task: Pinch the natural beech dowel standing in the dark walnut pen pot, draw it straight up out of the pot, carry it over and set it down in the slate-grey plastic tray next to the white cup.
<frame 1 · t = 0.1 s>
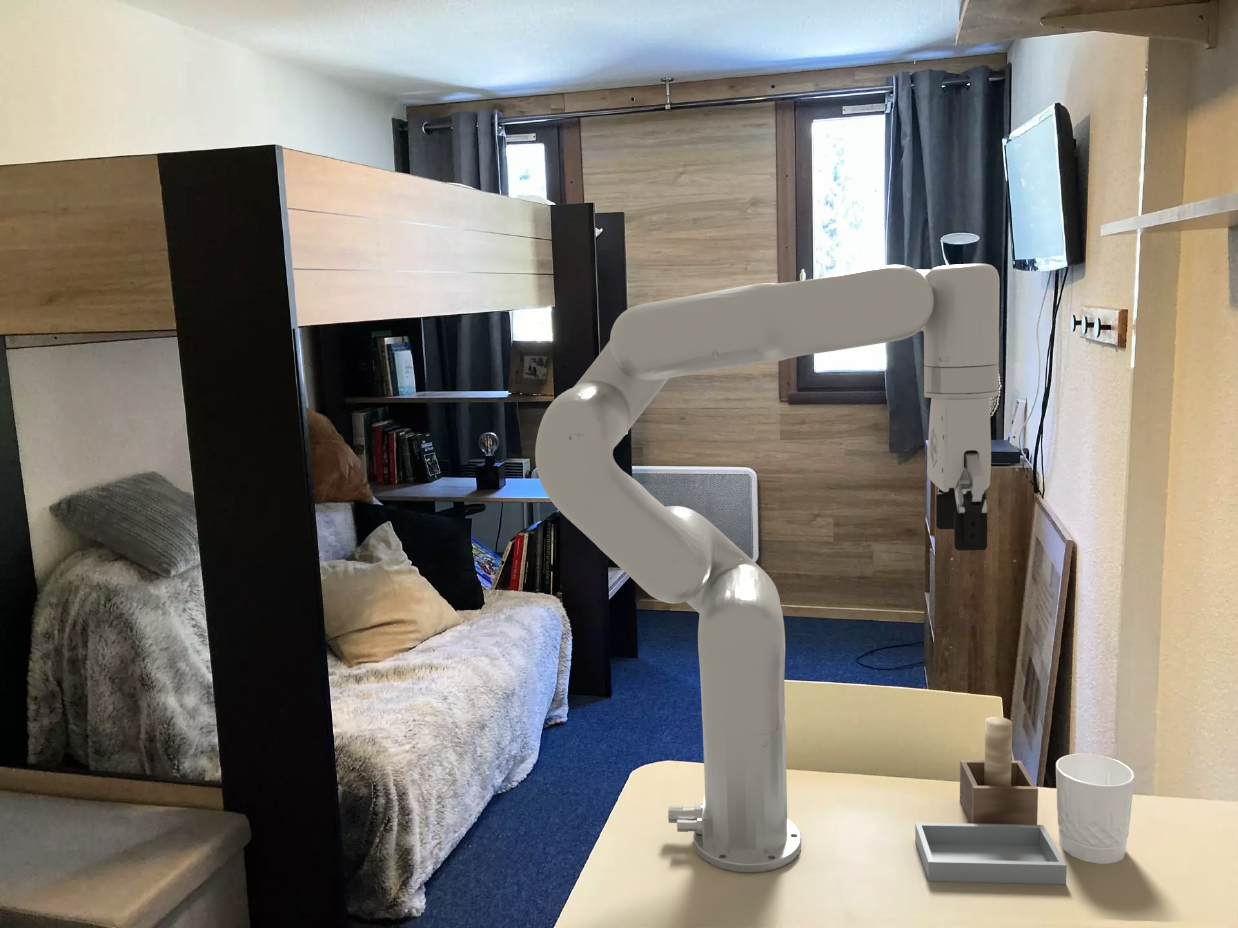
hand: (960, 538, 108), 37 cm above the table, tool pointing down, fingers open, 9 cm apart
dowel: (997, 815, 119), point 1 cm above the table, touching pen pot
tray: (987, 866, 110), on the table
pen pot: (997, 820, 119), on the table
white cup: (1091, 853, 112), on the table
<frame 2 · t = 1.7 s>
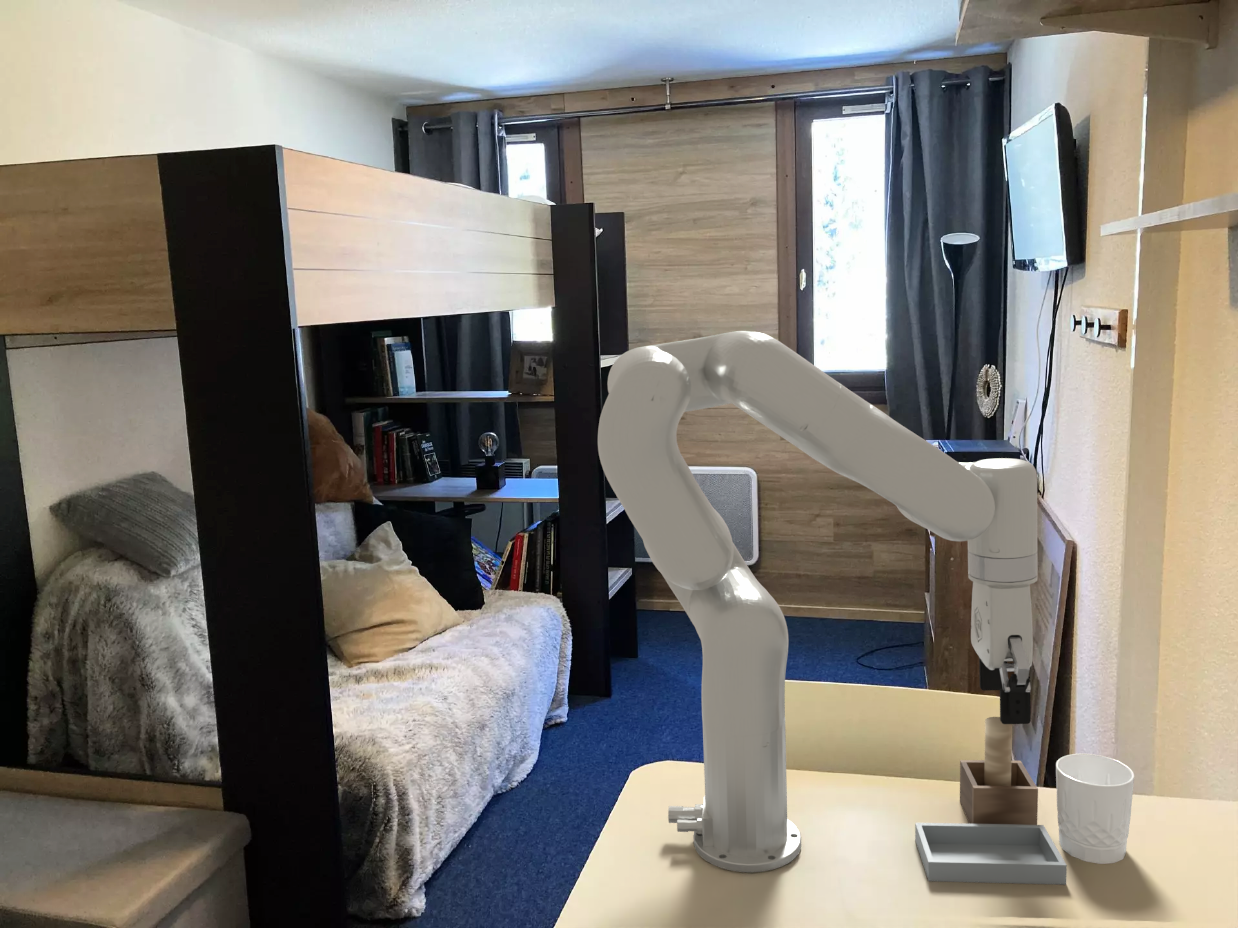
hand: (1004, 705, 117), 15 cm above the table, tool pointing down, fingers open, 9 cm apart
nothing on the table moved.
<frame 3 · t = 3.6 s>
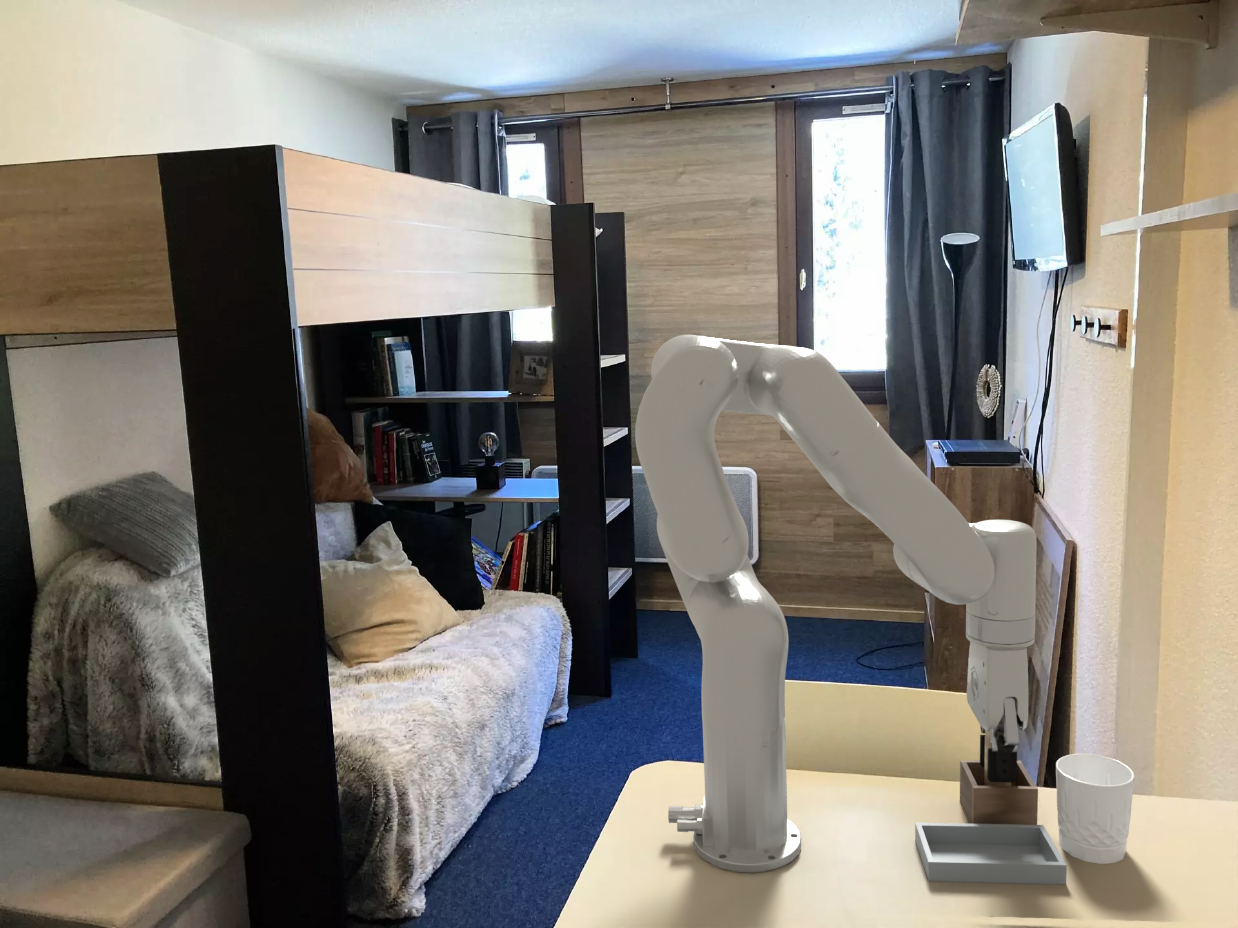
hand: (997, 772, 118), 6 cm above the table, tool pointing down, fingers closed on dowel, 3 cm apart
dowel: (997, 815, 119), point 1 cm above the table, touching gripper, pen pot
everything else where it was.
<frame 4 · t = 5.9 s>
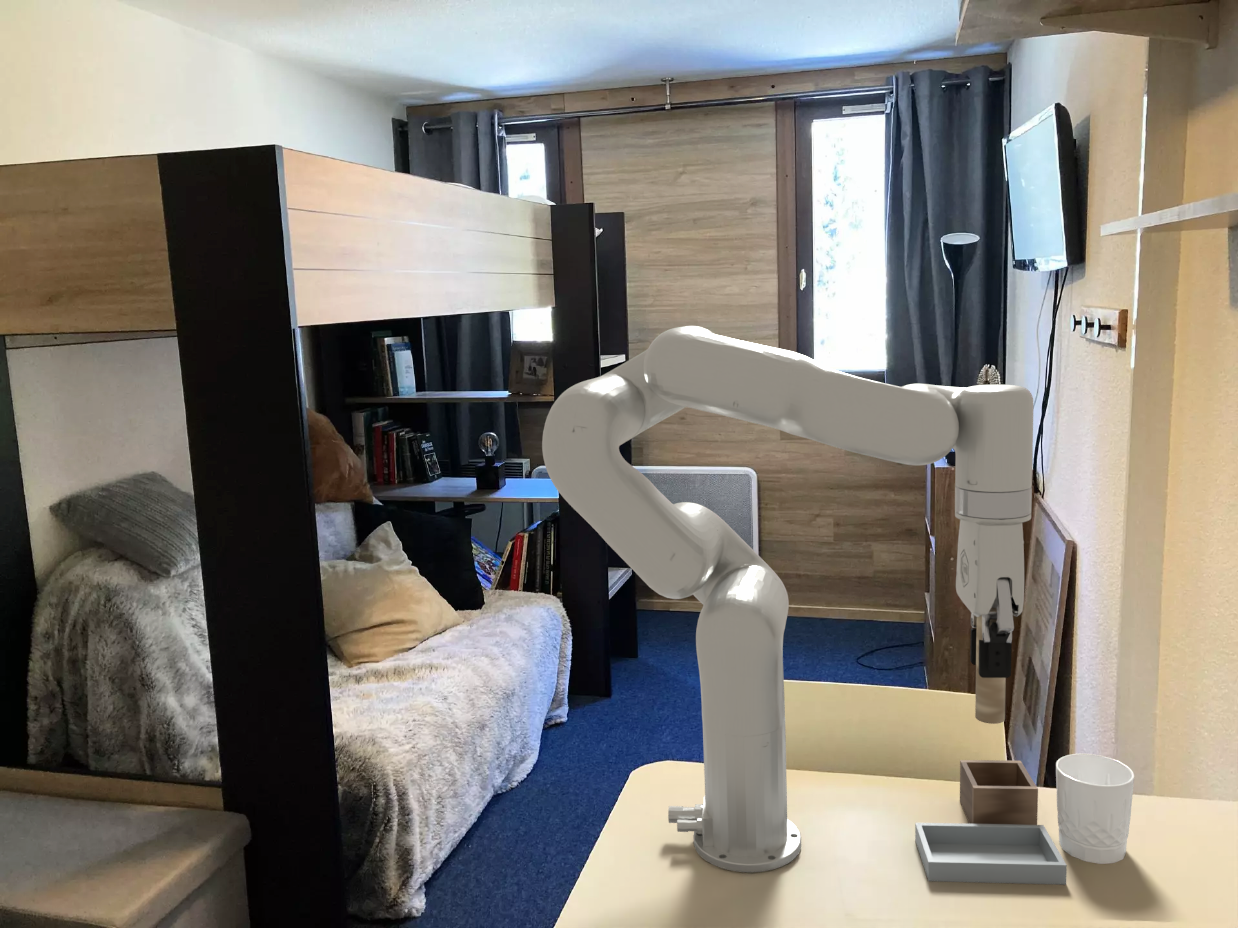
hand: (990, 668, 107), 23 cm above the table, tool pointing down, fingers closed on dowel, 3 cm apart
dowel: (989, 717, 108), point 17 cm above the table, touching gripper
everything else where it was.
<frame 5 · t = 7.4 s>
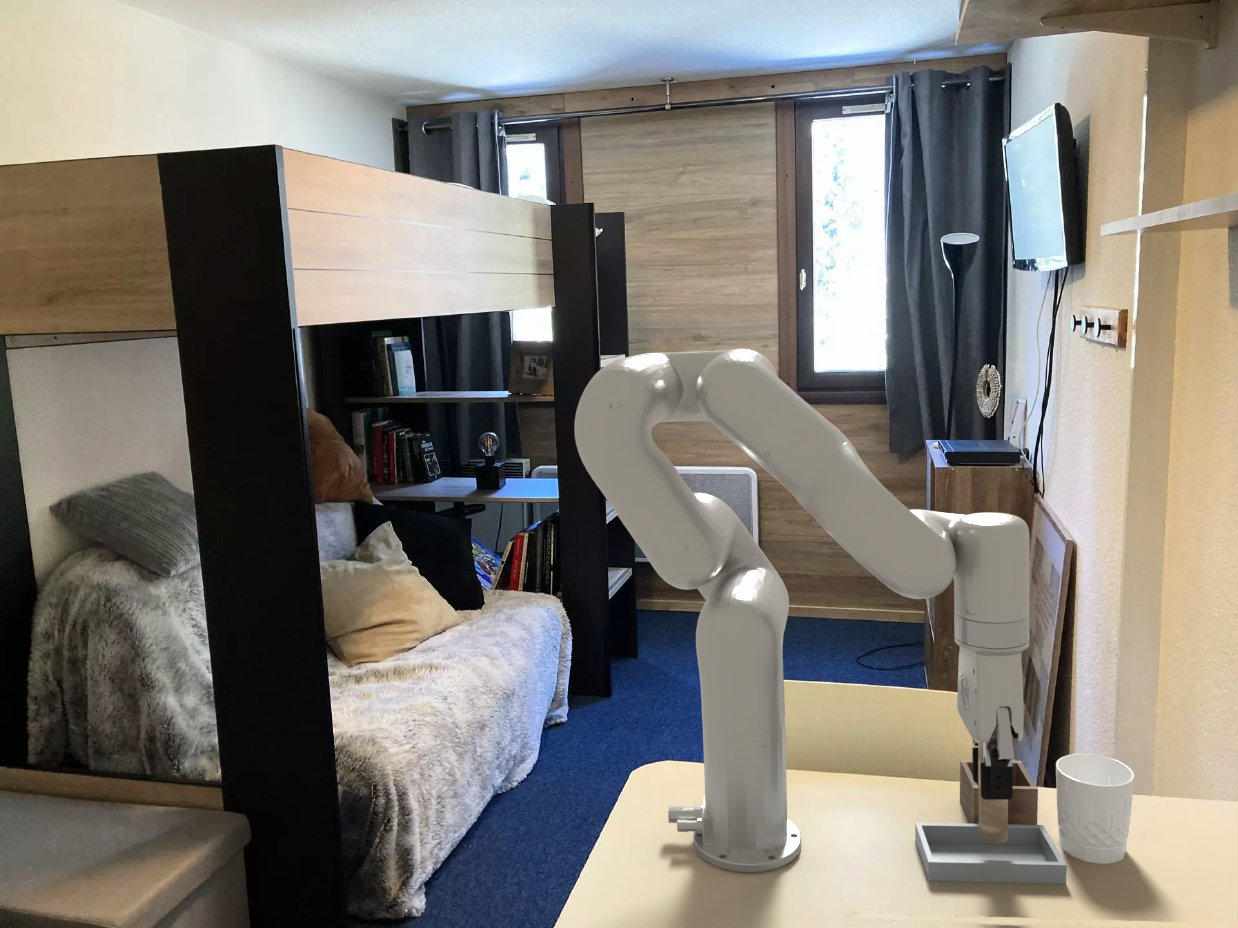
hand: (992, 788, 109), 9 cm above the table, tool pointing down, fingers closed on dowel, 3 cm apart
dowel: (993, 835, 109), point 4 cm above the table, touching gripper
everything else where it was.
when the fingers open (8 cm above the table, at t = 8.3 s): dowel drops 1 cm, resting on tray.
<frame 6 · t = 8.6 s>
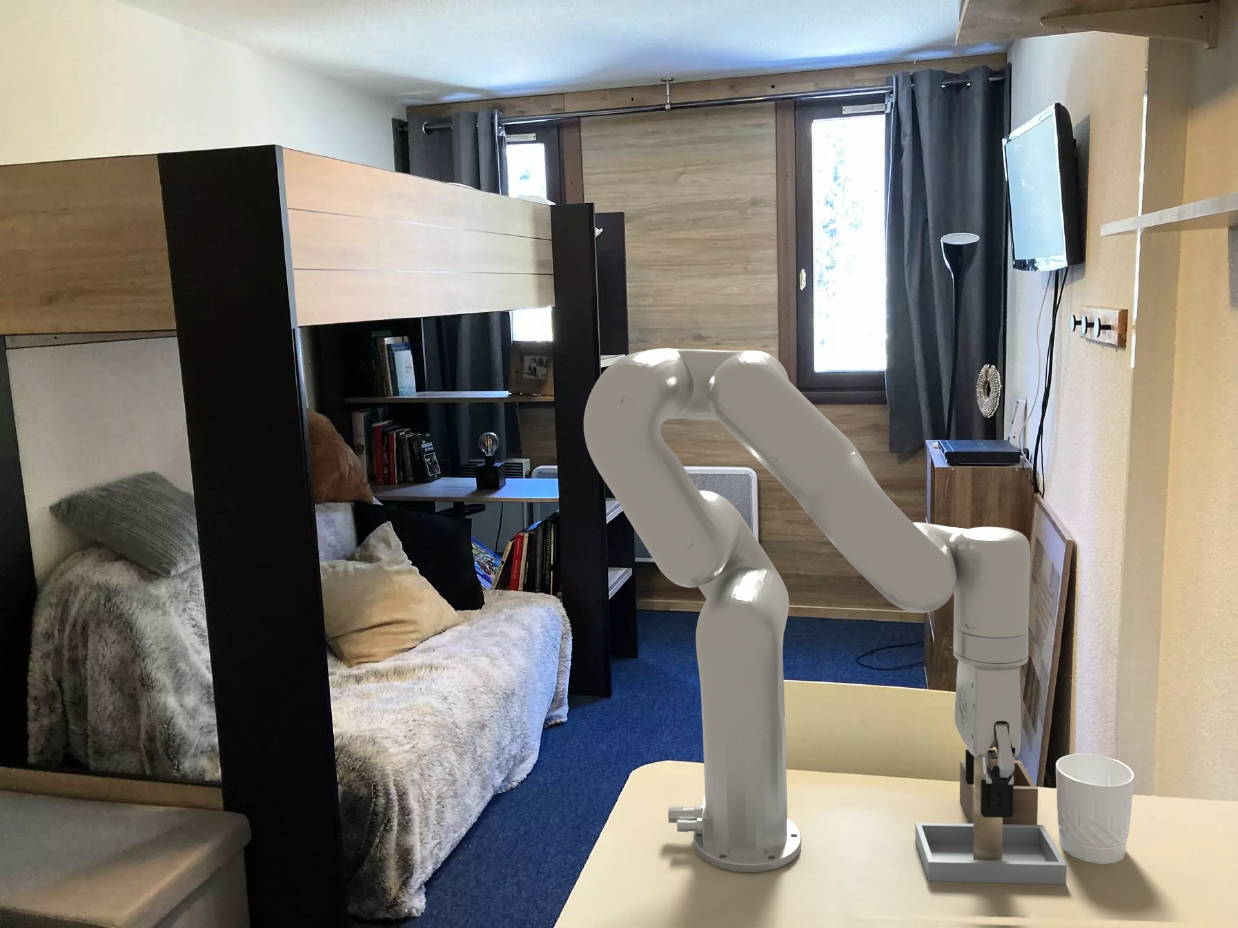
hand: (988, 797, 109), 8 cm above the table, tool pointing down, fingers open, 6 cm apart
dowel: (987, 860, 110), point 1 cm above the table, touching tray
everything else where it was.
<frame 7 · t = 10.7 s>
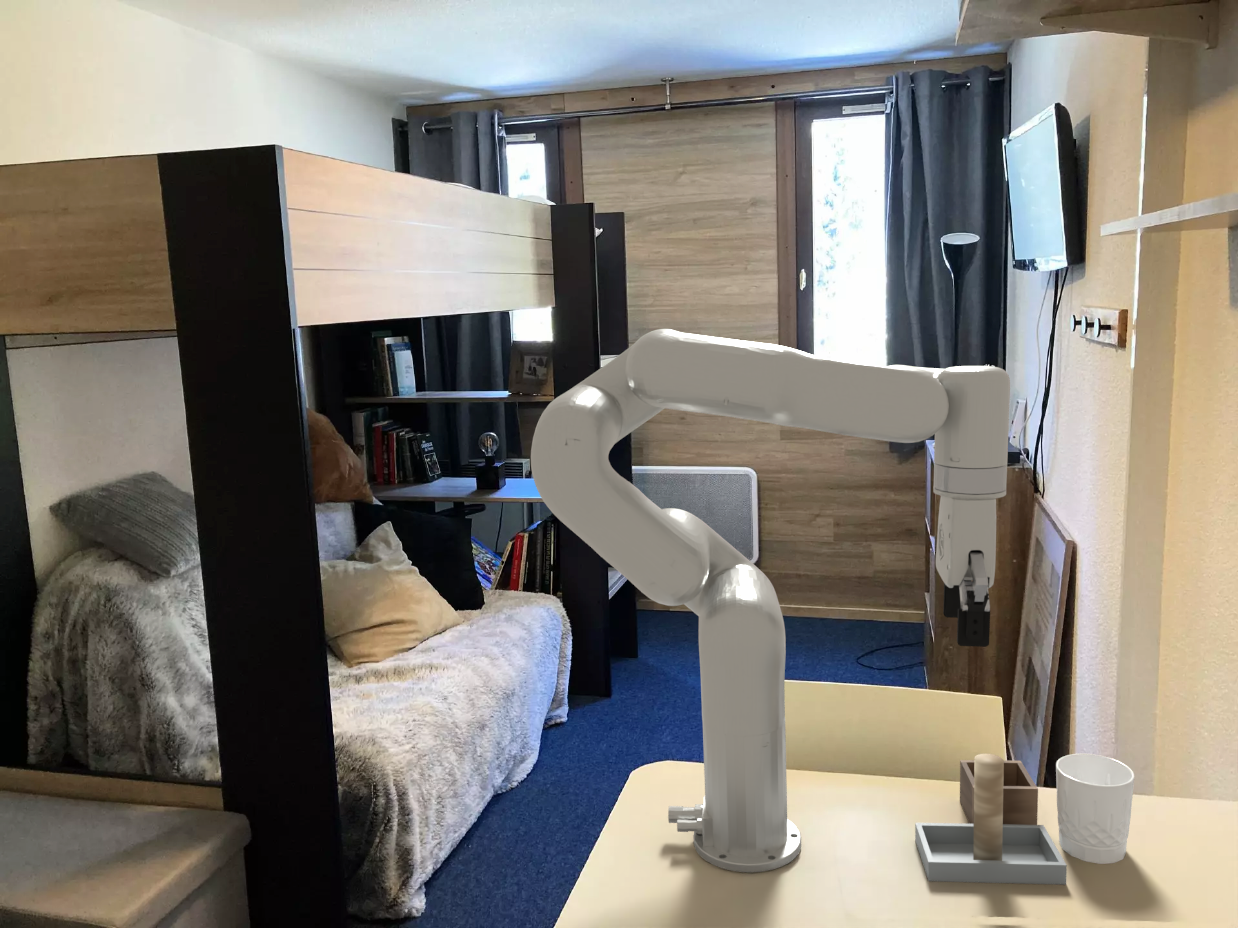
hand: (965, 630, 111), 26 cm above the table, tool pointing down, fingers open, 9 cm apart
nothing on the table moved.
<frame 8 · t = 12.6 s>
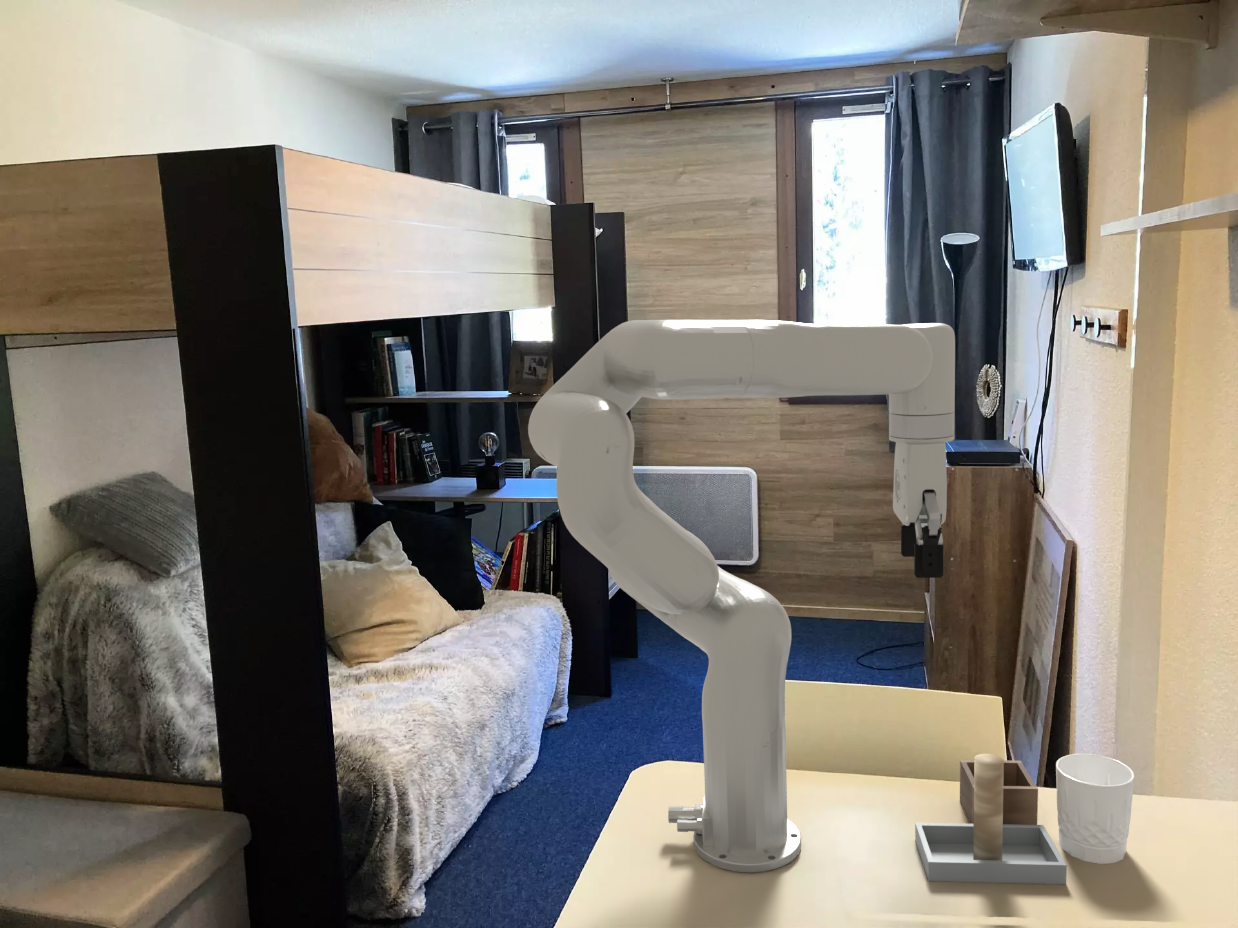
hand: (921, 566, 121), 30 cm above the table, tool pointing down, fingers open, 9 cm apart
nothing on the table moved.
at the end: dowel inside the target area on the tray (0.0 cm from its centre), point 0.6 cm above the tray's base; the gripper is holding nothing; dowel touching tray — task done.
